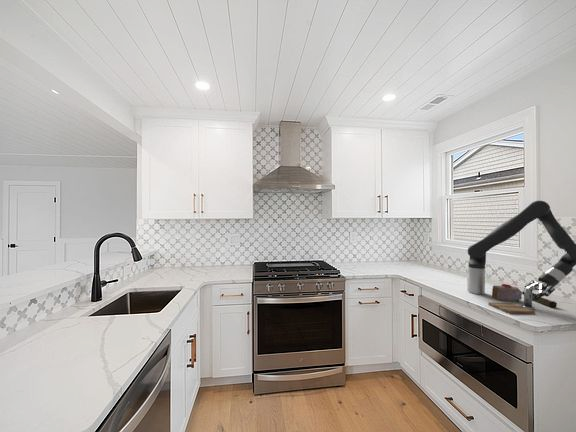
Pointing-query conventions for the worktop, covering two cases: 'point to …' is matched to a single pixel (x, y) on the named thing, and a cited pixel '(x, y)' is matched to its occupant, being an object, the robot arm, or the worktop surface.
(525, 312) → the walnut board
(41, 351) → the worktop surface
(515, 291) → the food item
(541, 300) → the hand tool
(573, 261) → the robot arm
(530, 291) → the round metal knob
